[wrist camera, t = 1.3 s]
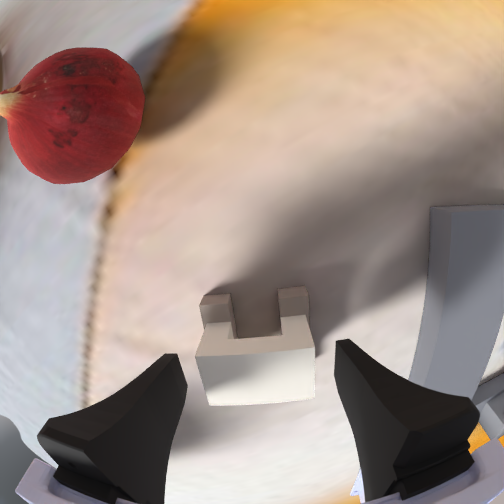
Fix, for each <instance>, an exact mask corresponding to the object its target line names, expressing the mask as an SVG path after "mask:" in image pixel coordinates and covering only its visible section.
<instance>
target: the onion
mask: <svg viewBox="0 0 504 504" xmlns="http://www.w3.org/2000/svg"><path fill="white" fill-rule="evenodd" d="M144 103H145V96H144V92H143V89H142V85H141V82H140V78H139V75H138V74H137V73H136V71H135V70H134V68H133V67H132V66H131V65H130V64H128V63H127V62H126V61H125V60H123V59H122V58H121V57H120V56H118V55H117V54H115V53H113V52H112V51H110V50H108V49H103V48H72V49H66V50H63V51H60V52H58V53H55V54H54V55H52V56H50V57H48V58H46V59H44V60H43V61H41V62H40V63H38V64H37V65H35V66H34V67H33V68H32V69H31V70H30V71H29V72H28V73H27V74H26V76H25V77H24V78H23V79H22V80H21V81H20V83H19V84H18V85H16V86H15V87H13V88H10V89H6V90H4V91H2V92H1V93H0V115H1V116H3V117H4V118H6V119H7V123H8V132H9V138H10V142H11V145H12V147H13V149H14V151H15V152H16V154H17V156H18V157H19V159H20V160H21V162H22V164H23V165H24V166H25V167H26V168H27V169H28V170H29V171H30V172H32V173H34V174H35V175H37V176H39V177H41V178H42V179H44V180H46V181H49V182H51V183H53V184H70V183H79V182H85V181H88V180H90V179H92V178H94V177H96V176H98V175H100V174H102V173H103V172H105V171H107V170H109V169H111V168H112V167H113V166H114V165H115V164H116V163H117V162H118V160H119V159H120V158H121V157H122V156H123V155H124V154H125V153H126V152H127V151H128V150H129V148H130V147H131V145H132V143H133V141H134V139H135V137H136V135H137V133H138V131H139V129H140V127H141V121H142V115H143V109H144Z"/></svg>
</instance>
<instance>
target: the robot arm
mask: <svg viewBox="0 0 504 504" xmlns="http://www.w3.org/2000/svg"><path fill="white" fill-rule="evenodd" d="M334 376H335V381H336V385H337V389H338V393H339V396H340V399H341V401H342V404H343V407H344V409H345V412H346V415H347V417H348V420H349V423H350V425H351V428H352V431H353V434H354V438H355V442H356V447H357V451H358V456H359V462H360V467H361V468H360V471H359V473H358V476H357V478H356V481H355V483H354V485H353V488H352V490H351V492H350V495H351V496H354V495H359V497H360V502H361V504H488V503H490V502H491V501H492V500H493V499H494V498H496V497H497V496H498V495H499V494H500V493H502V492H503V491H504V448H503V446H502V445H501V443H500V442H499V440H498V439H497V437H496V438H493V439H492V440H490V441H489V442H487V443H486V444H484V445H482V446H481V447H479V448H478V449H476V450H475V451H474V452H473V453H471V454H470V453H469V451H468V449H469V448H470V444H469V442H468V440H467V439H468V438H469V436H470V435H471V433H472V432H473V430H474V429H475V427H476V425H477V423H478V421H479V418H480V412H479V410H478V409H477V407H476V406H475V405H474V403H473V402H472V401H471V399H470V398H469V397H464V396H457V395H451V394H446V393H442V392H438V391H435V390H432V389H428V388H426V387H423V386H420V385H418V384H415V383H413V382H411V381H409V380H407V379H405V378H403V377H401V376H399V375H397V374H395V373H394V372H392V371H390V370H389V369H387V368H386V367H384V366H383V365H381V364H380V363H378V362H377V361H376V360H374V359H373V358H372V357H371V356H369V355H368V354H367V353H366V352H364V351H363V350H362V349H361V348H359V347H358V346H357V345H356V344H355V343H354V342H352V341H351V340H350V339H344V340H338V341H336V351H335V369H334ZM187 386H188V385H187V382H186V379H185V377H184V374H183V371H182V367H181V364H180V361H179V358H178V355H177V354H164V355H163V356H161V357H160V358H159V359H158V360H157V361H156V362H154V363H153V364H152V365H151V366H150V367H149V368H147V369H146V370H145V371H144V372H143V373H142V374H140V375H139V376H138V377H137V378H135V379H134V380H133V381H131V382H130V383H129V384H127V385H126V386H125V387H123V388H122V389H121V390H119V391H118V392H116V393H115V394H113V395H111V396H109V397H108V398H106V399H104V400H102V401H100V402H98V403H96V404H94V405H92V406H90V407H87V408H85V409H82V410H80V411H77V412H74V413H70V414H67V415H63V416H58V417H54V418H49V419H48V421H47V422H46V423H45V425H44V426H43V428H42V429H41V431H40V432H39V434H38V435H37V439H38V441H39V443H40V445H41V446H42V447H43V449H44V450H45V451H46V452H47V453H48V454H49V455H50V457H51V458H52V459H53V460H54V461H55V462H56V463H57V464H58V465H59V466H58V468H57V470H56V469H55V468H54V467H52V466H50V465H49V464H46V463H44V462H43V461H41V460H39V459H37V458H34V460H33V462H32V463H31V465H30V467H29V468H28V470H27V471H26V473H25V474H24V476H23V478H22V479H21V481H20V483H19V485H18V486H17V488H16V490H15V492H16V493H17V494H18V495H19V496H21V497H22V498H23V499H24V500H26V501H27V502H28V503H29V504H164V496H165V483H166V474H167V466H168V460H169V454H170V449H171V444H172V440H173V437H174V434H175V431H176V428H177V425H178V422H179V419H180V416H181V413H182V410H183V407H184V404H185V399H186V393H187Z"/></svg>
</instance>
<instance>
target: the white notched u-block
mask: <svg viewBox="0 0 504 504" xmlns="http://www.w3.org/2000/svg"><path fill="white" fill-rule="evenodd" d="M278 300H279V311H280V323H281V335H277V336H266V337H255V338H242V339H238V336H237V330H236V325H235V319H234V313H233V306H232V300H231V294H230V293H229V294H217V295H204V296H203V298H202V301H201V303H200V305H199V307H200V312H201V317H202V321H203V326H204V333H203V335H202V338H201V341H200V344H199V347H198V349H197V352H196V355H195V358H196V362H197V365H198V369H199V372H200V376H201V379H202V382H203V386H204V389H205V392H206V395H207V398H208V402H209V405H210V406H223V405H253V404H269V403H281V402H290V401H299V400H307V399H314V397H315V345H314V342H313V339H312V335H311V332H310V317H309V295H308V292H307V290H306V287H305V286H299V287H290V288H280V289H278Z"/></svg>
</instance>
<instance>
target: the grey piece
mask: <svg viewBox="0 0 504 504" xmlns="http://www.w3.org/2000/svg"><path fill="white" fill-rule="evenodd" d="M503 314H504V204H494V205H464V206H441V207H430V250H429V266H428V277H427V286H426V295H425V302H424V309H423V316H422V322H421V327H420V333H419V338H418V343H417V347H416V352H415V356H414V361H413V365H412V369H411V372H410V376H409V381H411V382H413V383H415V384H418V385H420V386H423V387H426V388H428V389H432V390H435V391H438V392H442V393H446V394H451V395H457V396H464V397H469V398H470V399H471V401H472V402H473V403H474V405H475V406H476V407H477V409H478V410H479V412H480V418H479V421H478V422H479V423H480V425H481V426H482V428H483V429H484V430H485V432H486V433H487V435H488V437H489V438H490V440H492V439H493V438H496V437H497V439H499V438H500V437H501V436H503V435H504V373H502V374H501V375H499V376H497V377H495V378H494V379H492V380H490V381H488V382H486V383H484V384H482V385H480V386H478V385H479V383H480V381H481V378H482V376H483V374H484V371H485V369H486V366H487V364H488V361H489V358H490V356H491V353H492V350H493V347H494V344H495V341H496V338H497V335H498V332H499V328H500V325H501V322H502V318H503Z"/></svg>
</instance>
